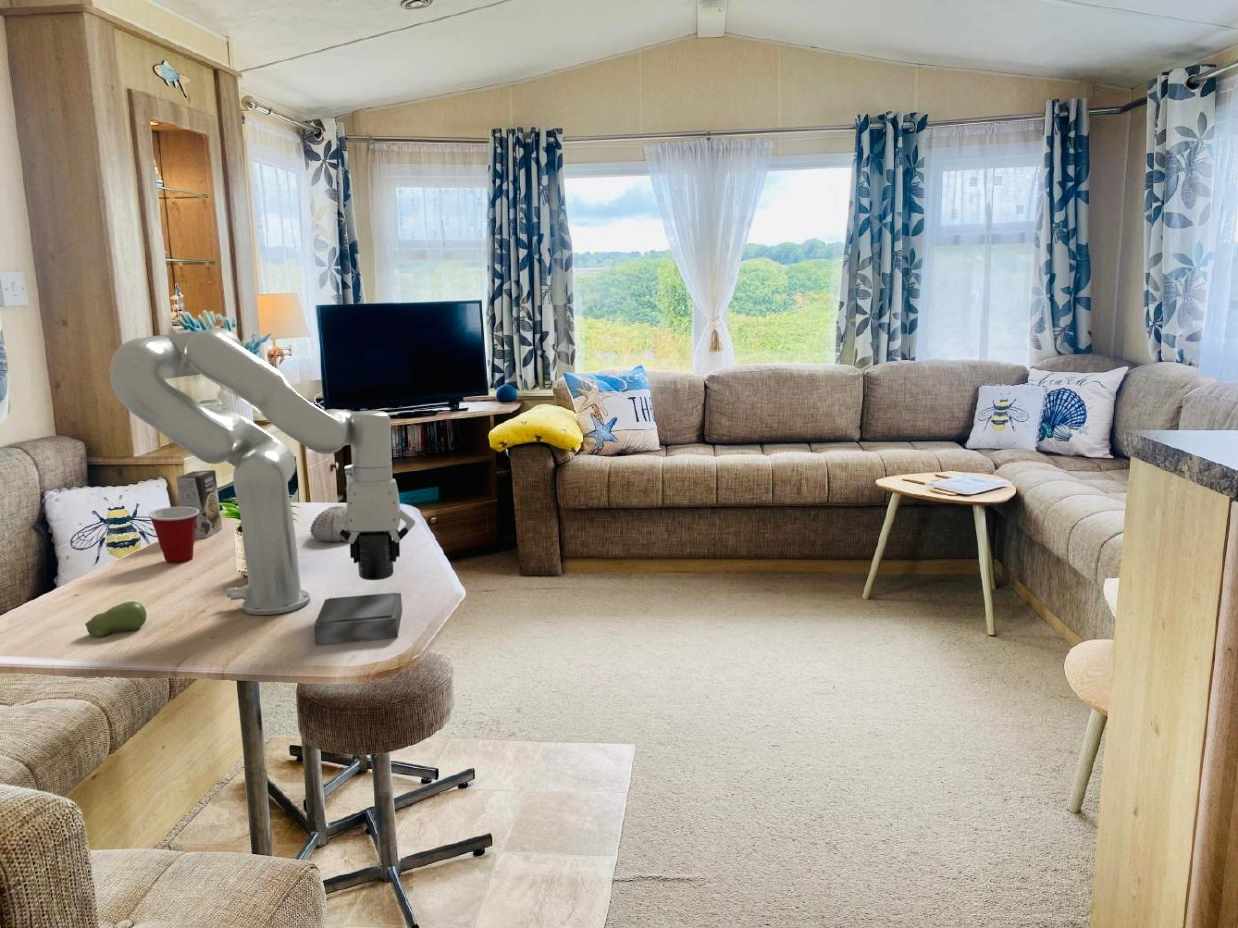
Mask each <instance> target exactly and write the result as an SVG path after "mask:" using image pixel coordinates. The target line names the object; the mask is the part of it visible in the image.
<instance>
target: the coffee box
mask: <svg viewBox="0 0 1238 928" xmlns="http://www.w3.org/2000/svg"><path fill="white" fill-rule="evenodd" d="M217 484H218V483H217V474H216V470H213V469H212V470H211V469H210V470H199V471H197V470H196V471H190V472H188V473H185V474H183V475H181V476H178V477H176V485H177V495H178V502H179V507H192V508H196V509H198V510H199V514H198V516H197V520H196V524H195V536H194V539H207V538H209V537H211V536H213V535H215V534H216V533H218V532H219V531H221V530H222V529H223V524H222V523H223V522H222V516H221V507H220V500H219V492H218V485H217ZM218 502H219V504H218Z"/></svg>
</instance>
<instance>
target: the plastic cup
mask: <svg viewBox="0 0 1238 928" xmlns="http://www.w3.org/2000/svg"><path fill="white" fill-rule="evenodd" d="M198 514H199V510H198V509H196V508H192V507H180V506H170V507H164V508H163V507H161V508H158V509H155V510H152V511H150V512H148V518H150V521H151V523H152V525H153V528H154V531H155V534H156V538H157V540H158V544H159V546H160V550H161V552H162V555H163V557H164V561H165V562H166V564H172V565H173V564H181V563H182V564H183V563H186V562H189V561H191V560H193V557H194V546H195V538H194V536H195V524H196V520H197V516H198Z"/></svg>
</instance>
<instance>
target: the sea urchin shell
mask: <svg viewBox="0 0 1238 928" xmlns="http://www.w3.org/2000/svg"><path fill="white" fill-rule="evenodd" d="M346 511H347V506H345V505H344V506H343V505H339V506H338V505H336V506H330V507H328V508H327V509H325V510H323V511H321V513H318V514H317V516H316V517H314V520H313V521H312V523H311V526H310V527H309V528H310V532H311V533H310V535H311V536H312V538H315V540H319V541H323V542H335V543H336V542H341V541H342V542H348V541H347V540H346V539H345V538H344V537H342V536H341V535H340V533H339V532H338V531H337V530H336V529H335V528H334V527H333V526H332V525H333V523H334V522H335V521H336V520H337V519H338V518H339V517H340V516H342V515H343V514H344V513H345V512H346ZM342 525H343V527H344V528H345V529H347V530H348V528H347V520H346V521H345V522H344V523H343V524H342ZM348 531H349V532H350V533H352V531H350V530H348ZM358 534H359V533H358ZM356 538H357V537H356Z"/></svg>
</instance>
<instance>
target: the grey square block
mask: <svg viewBox="0 0 1238 928" xmlns="http://www.w3.org/2000/svg"><path fill="white" fill-rule="evenodd" d="M402 602H403V601H402V593H401V592H388V593H378V594H377V593H374V594H365V595H354V596H353V595H351V596H343V597H341V596H339V597H331V598H325V599H324V602H323V604H322V606H321V608H320V611H319V613H318V615H317V618H316V620H315V623H314V625H313V627H314V628H313V629H314V639H315V646H321V645H333V644H343V643H355V642H363V641H365V642H366V641H375V640H386V639H387V640H388V639H397V638H399V632H400V626H401V619H402V615H403V604H402Z"/></svg>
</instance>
